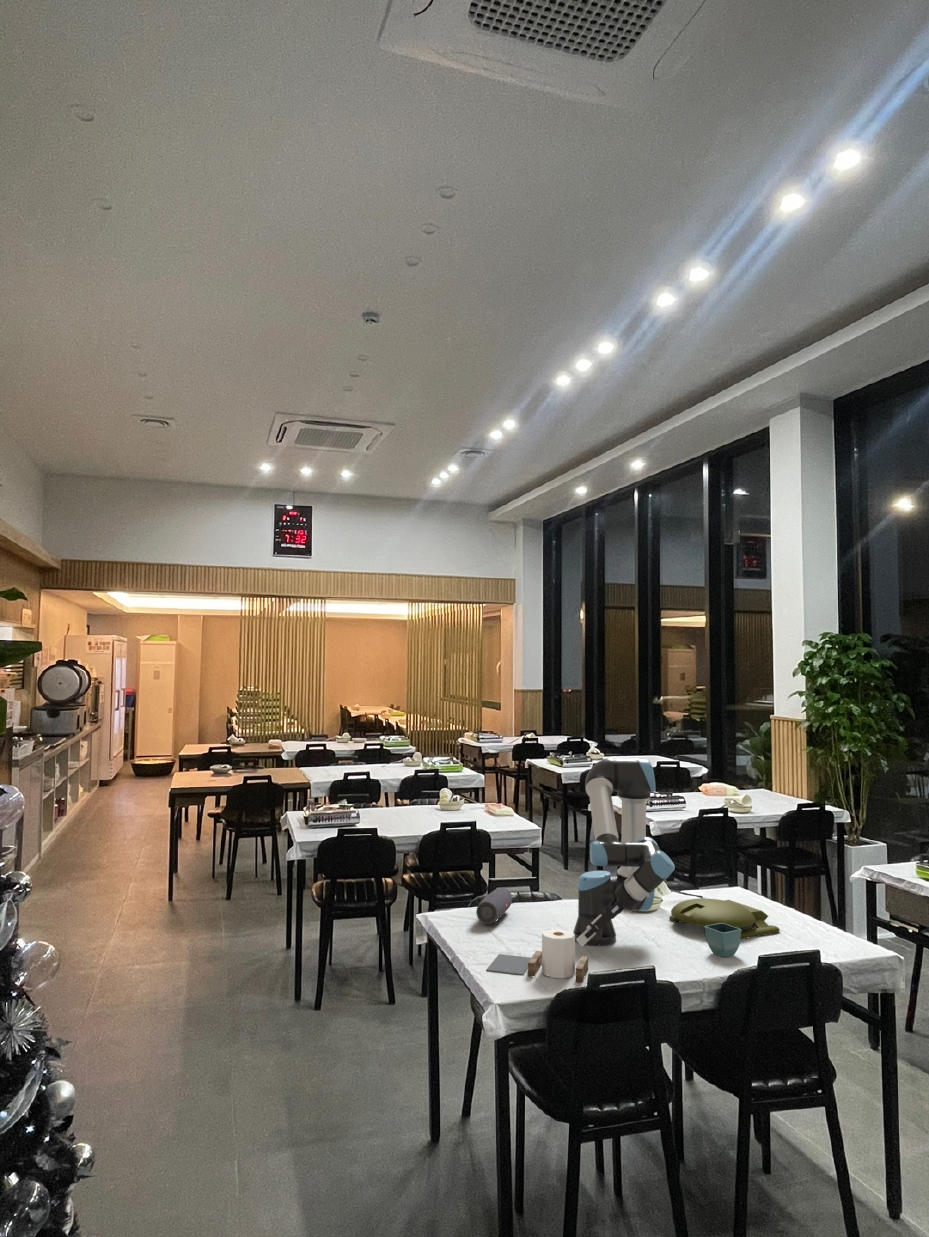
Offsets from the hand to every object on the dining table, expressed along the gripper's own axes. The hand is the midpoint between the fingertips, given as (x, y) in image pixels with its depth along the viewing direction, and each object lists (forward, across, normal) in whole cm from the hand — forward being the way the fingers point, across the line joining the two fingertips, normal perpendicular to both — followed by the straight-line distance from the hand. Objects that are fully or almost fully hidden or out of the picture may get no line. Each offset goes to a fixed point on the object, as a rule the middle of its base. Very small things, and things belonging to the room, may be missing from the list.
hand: (584, 936), depth 254 cm
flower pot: (-18, +41, -36) cm, 57 cm away
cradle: (+15, +1, -3) cm, 15 cm away
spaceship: (-15, +74, -33) cm, 82 cm away
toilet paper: (+15, +1, -3) cm, 15 cm away
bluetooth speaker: (+42, +48, +25) cm, 68 cm away
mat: (+26, +2, +9) cm, 28 cm away
